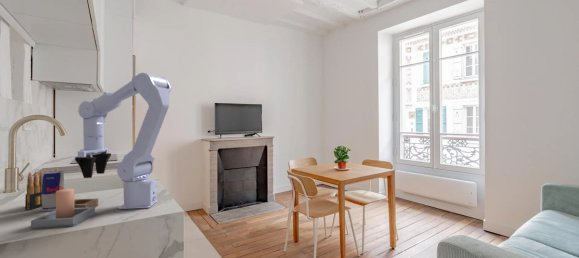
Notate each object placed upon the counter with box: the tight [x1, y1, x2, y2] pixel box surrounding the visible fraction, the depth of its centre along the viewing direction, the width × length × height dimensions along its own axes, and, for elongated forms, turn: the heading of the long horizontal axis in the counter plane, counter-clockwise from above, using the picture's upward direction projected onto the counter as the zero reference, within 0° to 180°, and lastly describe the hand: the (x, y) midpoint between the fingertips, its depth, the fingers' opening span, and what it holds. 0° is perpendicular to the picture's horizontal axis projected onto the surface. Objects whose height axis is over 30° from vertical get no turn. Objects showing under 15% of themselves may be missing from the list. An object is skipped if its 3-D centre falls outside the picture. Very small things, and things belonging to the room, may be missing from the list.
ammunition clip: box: [24, 167, 59, 211], centre depth 90 cm, size 11×2×12 cm, turn 174°
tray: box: [30, 207, 96, 229], centre depth 75 cm, size 10×10×2 cm
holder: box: [74, 198, 99, 208], centre depth 85 cm, size 7×7×2 cm
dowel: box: [56, 188, 75, 218], centre depth 75 cm, size 4×4×8 cm
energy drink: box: [41, 170, 65, 213], centre depth 85 cm, size 5×5×12 cm
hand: (94, 175), depth 93 cm, fingers open, 7 cm apart
